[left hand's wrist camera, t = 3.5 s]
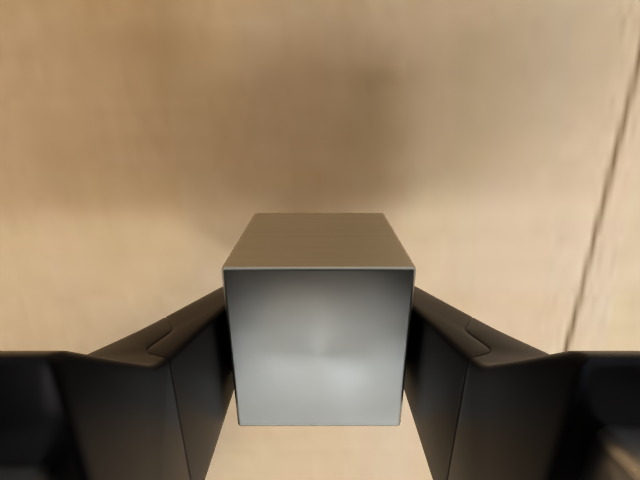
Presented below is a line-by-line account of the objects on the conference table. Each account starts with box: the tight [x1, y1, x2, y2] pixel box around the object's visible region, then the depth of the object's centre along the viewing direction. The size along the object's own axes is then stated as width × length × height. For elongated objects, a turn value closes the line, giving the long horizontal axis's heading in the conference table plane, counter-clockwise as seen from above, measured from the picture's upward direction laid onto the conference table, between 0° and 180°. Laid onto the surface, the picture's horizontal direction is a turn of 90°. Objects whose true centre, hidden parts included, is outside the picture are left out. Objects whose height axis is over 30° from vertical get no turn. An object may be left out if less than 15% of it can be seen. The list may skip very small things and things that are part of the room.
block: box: [222, 213, 416, 426], centre depth 10 cm, size 4×4×4 cm
